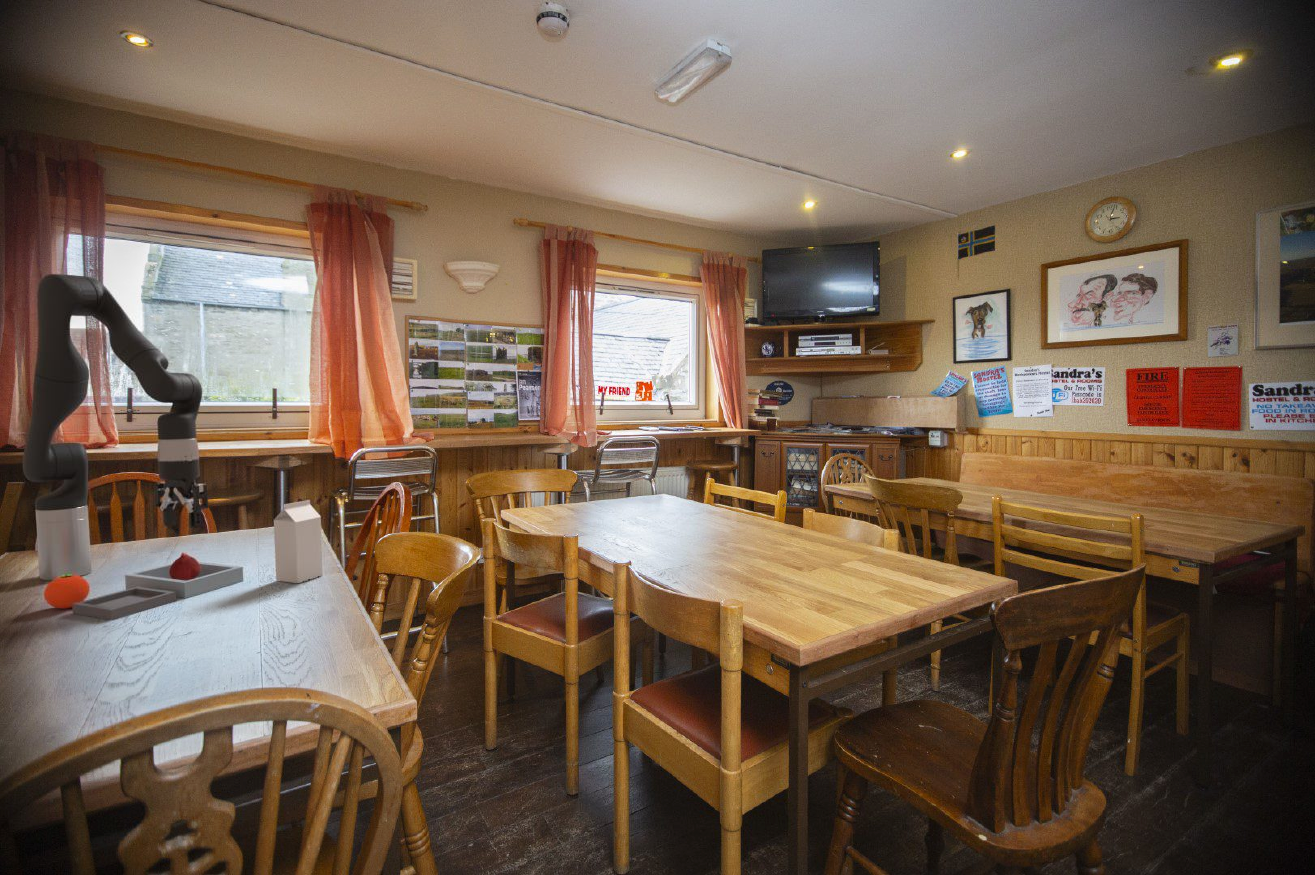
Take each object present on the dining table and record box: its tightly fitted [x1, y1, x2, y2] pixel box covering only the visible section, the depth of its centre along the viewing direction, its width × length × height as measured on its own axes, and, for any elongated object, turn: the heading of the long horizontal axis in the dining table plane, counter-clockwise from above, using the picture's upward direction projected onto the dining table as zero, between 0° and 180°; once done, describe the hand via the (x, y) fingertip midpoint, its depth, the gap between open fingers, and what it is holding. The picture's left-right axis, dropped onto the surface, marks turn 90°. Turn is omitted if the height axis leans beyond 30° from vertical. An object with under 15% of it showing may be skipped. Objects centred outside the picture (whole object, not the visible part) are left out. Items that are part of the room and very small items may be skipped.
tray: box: [71, 587, 177, 621], centre depth 128 cm, size 12×12×2 cm
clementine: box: [43, 574, 91, 609], centre depth 128 cm, size 8×7×7 cm
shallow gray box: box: [124, 561, 244, 599], centre depth 143 cm, size 19×13×4 cm
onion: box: [169, 551, 201, 581], centre depth 142 cm, size 6×6×8 cm
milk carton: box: [273, 499, 324, 584], centre depth 148 cm, size 7×7×19 cm
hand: (182, 526), depth 142 cm, fingers open, 8 cm apart
